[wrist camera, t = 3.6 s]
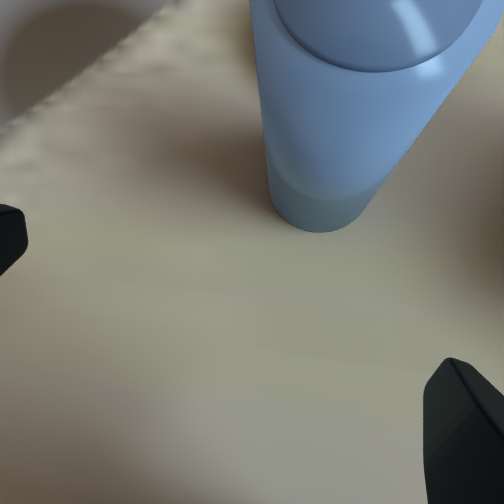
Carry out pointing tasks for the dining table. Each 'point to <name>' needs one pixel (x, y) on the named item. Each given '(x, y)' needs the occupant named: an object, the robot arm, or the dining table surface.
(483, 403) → the robot arm
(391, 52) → the vase
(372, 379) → the dining table surface
